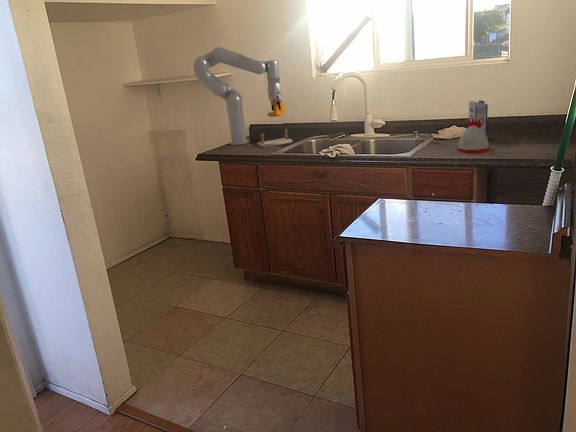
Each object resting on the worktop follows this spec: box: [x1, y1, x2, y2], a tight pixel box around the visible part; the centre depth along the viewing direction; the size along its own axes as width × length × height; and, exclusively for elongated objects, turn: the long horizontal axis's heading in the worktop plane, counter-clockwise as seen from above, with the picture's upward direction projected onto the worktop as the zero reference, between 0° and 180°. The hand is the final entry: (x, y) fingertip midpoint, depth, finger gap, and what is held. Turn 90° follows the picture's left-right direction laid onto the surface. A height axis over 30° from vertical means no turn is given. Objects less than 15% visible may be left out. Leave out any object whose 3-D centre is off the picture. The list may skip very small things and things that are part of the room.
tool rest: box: [257, 128, 293, 148], centre depth 299 cm, size 10×19×8 cm, turn 115°
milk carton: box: [468, 99, 489, 137], centre depth 252 cm, size 7×7×20 cm
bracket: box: [267, 98, 287, 118], centre depth 308 cm, size 11×7×12 cm, turn 148°
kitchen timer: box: [457, 118, 490, 154], centre depth 231 cm, size 14×14×15 cm
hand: (276, 110), depth 308 cm, fingers closed on bracket, 5 cm apart
